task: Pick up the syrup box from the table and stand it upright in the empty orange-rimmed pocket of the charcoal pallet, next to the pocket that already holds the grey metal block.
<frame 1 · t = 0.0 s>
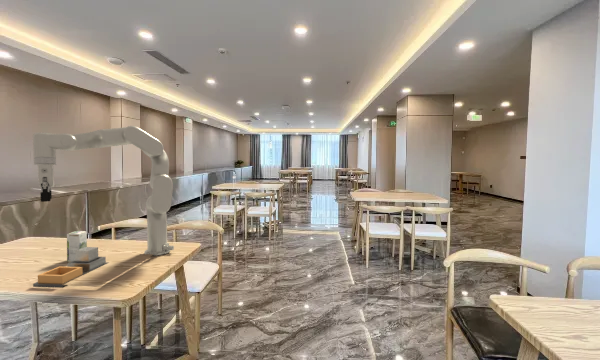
hand: (46, 200, 132), 31 cm above the table, tool pointing down, fingers open, 9 cm apart
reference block: (87, 266, 135), resting on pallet
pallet: (75, 274, 128), on the table
syrup box: (77, 262, 145), on the table
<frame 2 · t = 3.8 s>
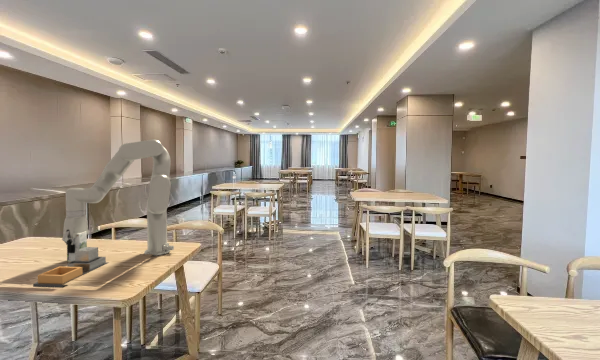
hand: (77, 250, 144), 6 cm above the table, tool pointing down, fingers closed on syrup box, 6 cm apart
syrup box: (77, 262, 145), on the table, touching gripper
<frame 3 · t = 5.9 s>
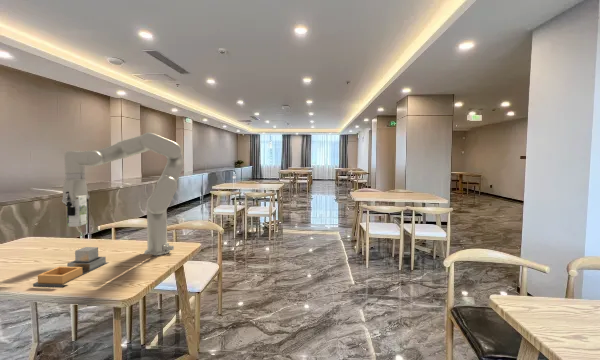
hand: (77, 213, 144), 23 cm above the table, tool pointing down, fingers closed on syrup box, 6 cm apart
syrup box: (77, 225, 144), point 18 cm above the table, touching gripper
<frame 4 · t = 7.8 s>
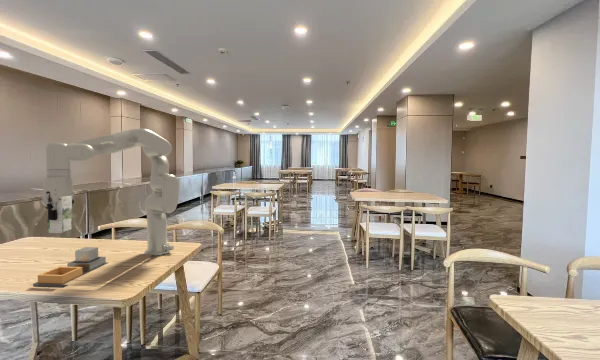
hand: (60, 217, 121), 26 cm above the table, tool pointing down, fingers closed on syrup box, 6 cm apart
syrup box: (60, 232, 121), point 20 cm above the table, touching gripper
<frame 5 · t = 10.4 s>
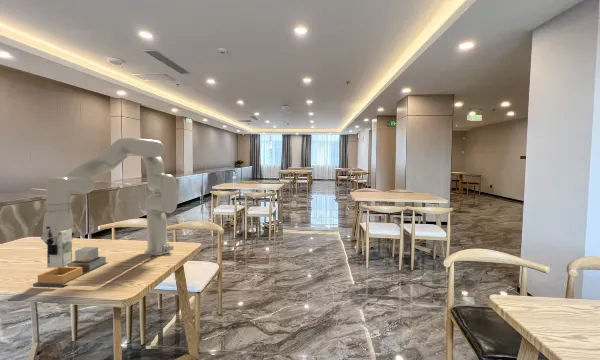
hand: (60, 251, 120), 12 cm above the table, tool pointing down, fingers closed on syrup box, 6 cm apart
syrup box: (60, 265, 121), point 6 cm above the table, touching gripper
when the fingers open (8 cm above the table, at t = 12.2 s): syrup box drops 1 cm, resting on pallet.
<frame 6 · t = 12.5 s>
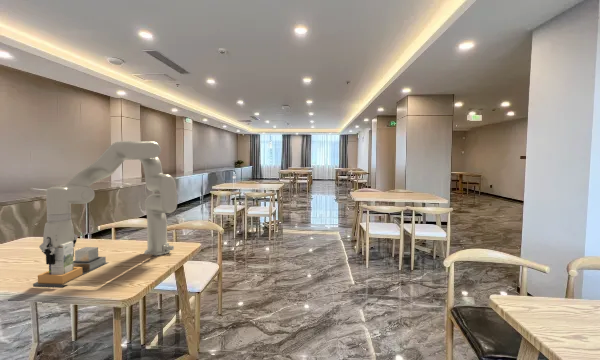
hand: (60, 260, 121), 9 cm above the table, tool pointing down, fingers open, 8 cm apart
syrup box: (61, 278, 121), point 1 cm above the table, touching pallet
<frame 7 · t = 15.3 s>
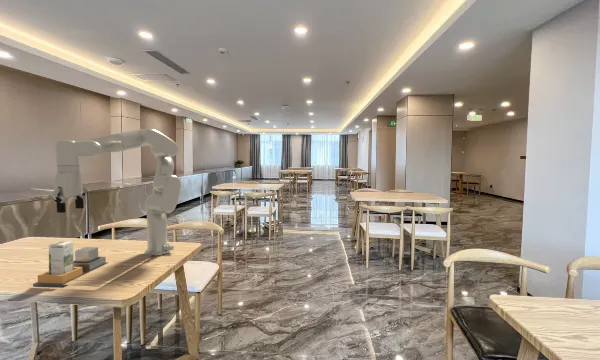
hand: (70, 210, 126), 28 cm above the table, tool pointing down, fingers open, 9 cm apart
nothing on the table moved.
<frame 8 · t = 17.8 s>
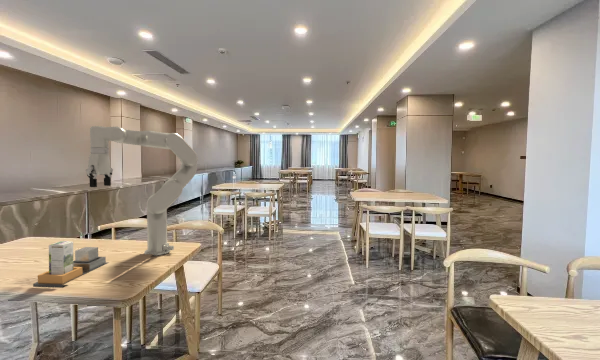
hand: (100, 186, 148), 36 cm above the table, tool pointing down, fingers open, 9 cm apart
nothing on the table moved.
at the end: syrup box 0.3 cm from the target spot on the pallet, point 1.0 cm above the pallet's base; syrup box tilted 0°; the gripper is holding nothing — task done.
